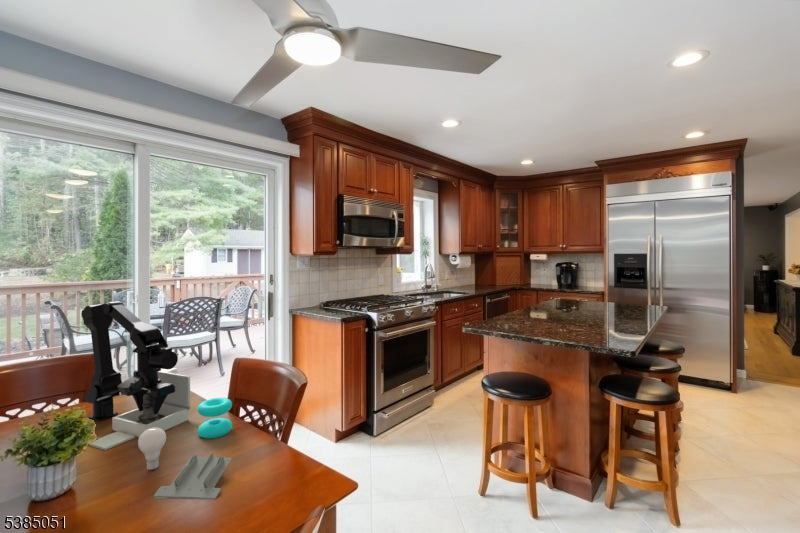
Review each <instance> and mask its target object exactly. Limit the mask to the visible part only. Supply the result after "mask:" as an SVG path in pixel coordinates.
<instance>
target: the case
mask: <svg viewBox="0 0 800 533" xmlns="http://www.w3.org/2000/svg"><path fill="white" fill-rule="evenodd" d="M158 379H160V380H161V383H159V384H157V385H160V384H163V383H170V384H173V385H174V386H175V392H174V393H171V394H168V395H167V397H166V399H165V400H164V402H163V404H162V406H161V408H160V410H159V412H158V413H159V415H161V416H163V417H162V418H158V419H157V420H156V421H154V422H151V423H149V424H147V425H145V424H142V423H140V421H139V419H138V417H139V416H140V415H141V414H142V413H143V411H139V409H138V408H135V409H133V410H130V411H126V412H124V413H122V414H118V415H115V416H112V419H111V420H112V421H111V422H112V425H111V426H112V431H114V432H116V431H119V432H122V433H126V434H130V435H133V436H135V437H138V438H139V437H140V435H141V434H142V433H143V432H144V431H145V430H147V429H149V428H152V427H158V428H161V429H163V430H164V431H166V430H167V431H168V430H169V429H171V428H174V427H175V426H177V425H180V424H183V423H185V422H186V421H189V410H190V409H191V376H190V375H184V374H178V373H177V374H174V373H168V372H162V371H158Z"/></svg>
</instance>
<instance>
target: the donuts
mask: <svg viewBox="0 0 800 533" xmlns="http://www.w3.org/2000/svg"><path fill="white" fill-rule="evenodd" d="M232 407H233V402H232V400H231V399H229V398H227V397H226V398H225V397H215V398H208V399H206V400H205V401H204V400H203V401H202V402H201V403H200V404H199V405H198V406H197V412H198V414H199V415H201V416H202V417H206V418H207V417H208V418H211V419H209V420H205V421H204V422H203V423H201V424H200V425H199V427H198V428H197V433H198V436H199V437H201V438H203V439H216V438H221V437H224V436H225V435H227V434H228V433H230V432H231V430H232V428H233V423H232V421H231V420H230V419H228V418H226V417H225V418H224V417H218V416H222V415H224V414H226V413H228V412H229V411H230V410H231V409H232ZM215 417H217V418H215Z"/></svg>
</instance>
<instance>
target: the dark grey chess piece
mask: <svg viewBox="0 0 800 533" xmlns="http://www.w3.org/2000/svg"><path fill="white" fill-rule="evenodd" d="M148 396H151V395H150V393H149V390H148V391H147V393H146V394H145V395H144V396H143V404H142V406H143V413H142V414H141V415H140V416H139V417H138V419H139V421H138V422H139V423H141V424H145V425H147V424H149V423H151V422H154V421H156V420H158V419H159V418H158V417H159V415H160V414H159V413H158V414H156V415H154V413H153V406H152V400H151V399H150V398H148Z"/></svg>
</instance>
